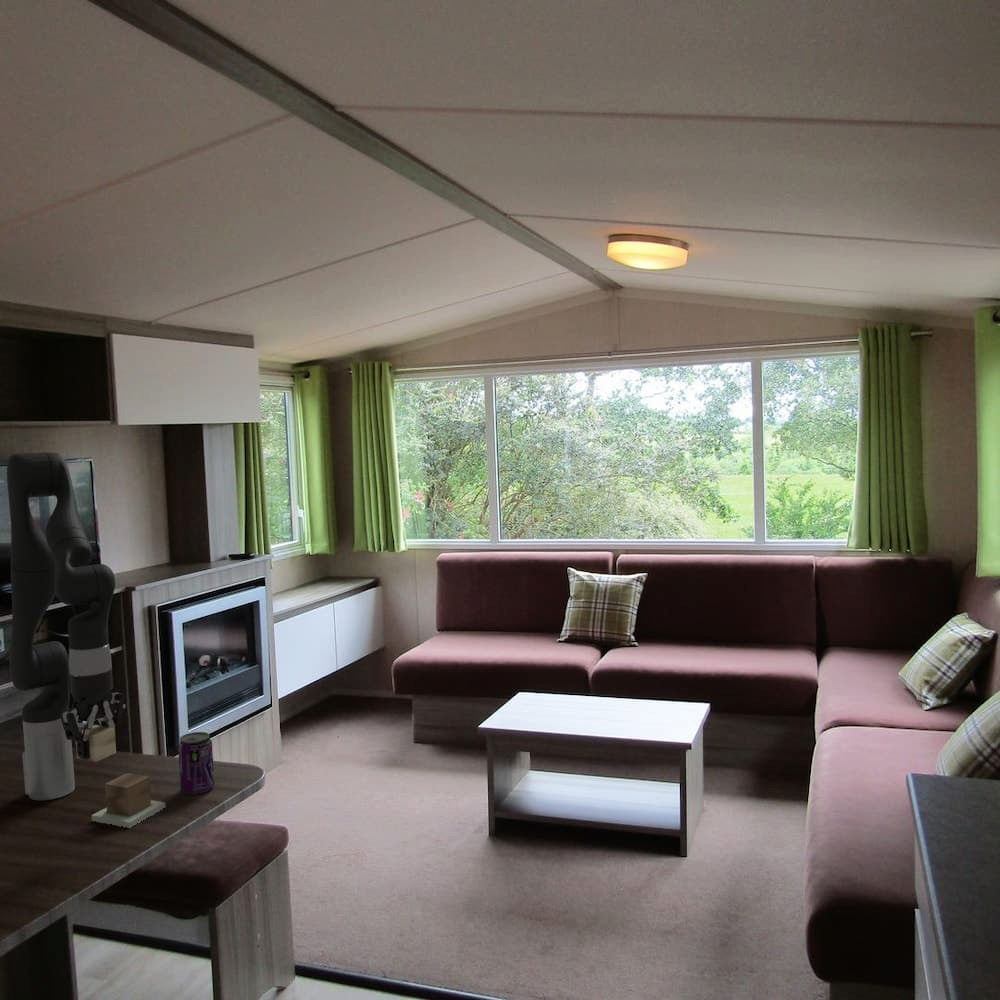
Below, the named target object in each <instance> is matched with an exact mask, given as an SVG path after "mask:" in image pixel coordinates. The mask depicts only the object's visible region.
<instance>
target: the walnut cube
mask: <svg viewBox="0 0 1000 1000" xmlns="http://www.w3.org/2000/svg"><path fill="white" fill-rule="evenodd" d="M104 788H105V790H104V791H105V792H104V793H105V802H106V808H107V812H109V813H114V814H119V815H124V816H131V815H133V814H135V813H137V812H138V811H140V810H142V809H144V808H146V807H148V806H149V805H151V800H152V799H151V798H152V797H151V787H150V776H147V775H140V774H135V773H130V772H129V773H127V772H126V773H124V774H123V775H120V776H118V777H116V778H114V779H111V780H110V781H108V782H106V783H104Z"/></svg>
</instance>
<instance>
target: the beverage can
mask: <svg viewBox="0 0 1000 1000" xmlns="http://www.w3.org/2000/svg"><path fill="white" fill-rule="evenodd" d="M177 751H178V752H177V753H178V765H179V767H178V768H179V782H180V783H179V784H180V790H181V791H182V792H183V793H187V794H188V793H189V795H199V794H198V793H200V794H204V793H206V792H208V791H209V790H211V789H212V788H214V787H215V783H216V782H215V771H214V770H215V769H214V766H215V765H214V755H213V754H214V753H213V741H212V740H211V738H210V734H209V733H208V732H205V731H204V732H203V731H195V732H194V731H193V732H189V733H185V734H184V735H182V736H180V737H179V743H178V746H177ZM203 792H204V793H203Z"/></svg>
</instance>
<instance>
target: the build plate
mask: <svg viewBox="0 0 1000 1000" xmlns="http://www.w3.org/2000/svg"><path fill="white" fill-rule="evenodd" d="M163 808H165V809H166V801H165V802H163V801H158V800H152V799H151V805H149V806H148V807H146V808H144V809H142V810H140V811H138V812H137V813H135V814H133V815H131V816H124V815H119V814H114V813H109V812H107V807H105V808H103V809H101V810H99V811H97V812H95V813H94V814H91V821H92V822H95V821H96V823H99V824H105V823H106V825H110V824H112V826H115V825H116V826H117V827H121V826H123V827H122V828H126V827H127V829H131V828H133V827H135V826H136V825H138V824H139V823H142V822H144V821H146V820H147V819H149V818H150V816H151V817H152V816H154V815H156V814H157V812H158V813H160V812H161V811H163V810H164V809H163ZM162 809H163V810H162ZM160 810H161V811H160ZM155 813H156V814H155ZM148 817H149V818H148ZM146 818H147V819H146ZM143 820H144V821H143ZM141 821H142V822H141ZM137 823H138V824H137ZM134 825H135V826H134ZM132 826H133V827H132Z"/></svg>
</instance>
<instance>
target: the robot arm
mask: <svg viewBox="0 0 1000 1000" xmlns="http://www.w3.org/2000/svg"><path fill="white" fill-rule="evenodd" d="M6 482H7V483H6V484H7V495H8V496H7V497H8V503H9V505H8V506H9V517H10V586H11V588H10V589H11V590H10V591H11V607H12V608H11V611H12V612H11V614H12V617H11V618H12V619H11V620H12V621H11V637H10V647H9V648H10V649H9V673H10V674H9V675H10V679H11V680H10V681H11V682H12V685H13V687H14V688H16V690H18V691H21V692H23V691H24V692H25V691H30V690H35V689H39V688H43V687H44V688H43V690H42V691H41V692H40V693H39V694H38V695H37V696H36V697H35V698H33V699H31V700H30V701H28V702H26V703H25V704H24V705H23V707H22V709H21V716H22V717H21V718H22V727H23V728H22V730H23V740H24V741H23V743H24V751H23V752H22V767H23V768H22V769H23V779H24V780H23V781H24V791H25V795H26V796H28V798H29V799H31V800H34V801H50V800H55V799H60V798H62V797H65V796H66V795H69V794H71V793H73V792H74V790H75V789H76V784H75V771H74V759H73V758H74V757H73V746H72V741H75V743H76V742H77V751H78V752H77V754H78V756H79V757H80V758H81V759H80V760H83V759H85V760H84V761H88V760H87V759H89V758H90V748H89V740H88V738H89V733H90V729H92V728H93V726H94V725H95V724H94V723H95V721H96V720H97V721H98V723H99V726H105V727H111V728H115V727H116V726H117V725H119V724H121V723H122V720H123V719H122V718H123V711H124V705H125V704H124V703H125V693H123V692H117V691H116V692H115V691H113V692H112V690H113V689H114V682H113V681H114V680H113V679H114V678H113V666H112V663H113V662H112V653H111V648H110V639H109V616H110V609H111V605H112V600H113V598H114V593H115V587H116V578H115V573H114V572H113V570H112V568H110V567H109V566H108V565H106V564H103V563H99V564H90V565H89V563H90V562H91V561H92V559H93V549H92V546H91V543H90V541H89V539H88V537H87V535H86V532H85V530H84V527H83V524H82V521H81V518H80V513H79V510H78V505H77V499H76V496H75V490H74V487H73V486H74V485H73V483H72V478H71V473H70V469H69V467H68V464H67V462H66V460H65V458H64V456H63V455H62V454H61V453H58V452H53V451H52V452H51V451H50V452H21V453H12V455H10V457H8V460H7V465H6ZM44 497H56V504H55V507H54V509H53V512H52V513H51V515H50V517H49V519H48V521H47V524H46V526H45V533H43V531H42V530H41V528H40V527H39V526H38V524H37V522H36V521H35V518H34V517H33V515H32V512H31V508H30V503H29V500H30V499H29V498H44ZM55 597H56V598H57V600H58V601H59V602H61V603H63V604H65V605H67V606H73V605H75V606H76V605H81V604H82V605H83V604H87V603H91V606H90V607H89V608H88V610H86V611H84V612H82V613H80V614H76V615H74V616H73V617H70V619H69V620H68V622H67V634H68V636H67V637H68V647H69V649H68V652H67V650H66V648H65V646H64V645H63V644H62V642H60V641H54V640H52V641H47V642H42V643H38V644H35V643H34V642H35V636H36V633H37V629H38V626H39V624H40V622H41V620H42V618H43V616H44V615H45V613H46V612H47V610H48V609H49V607H50V605H51V604H52V602H53V600H54V599H55ZM71 696H72V698H73V704H72V706H71V708H70V701H71V700H70V699H71ZM84 722H86V723H84ZM82 730H83V734H82ZM77 754H76V755H77Z"/></svg>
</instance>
